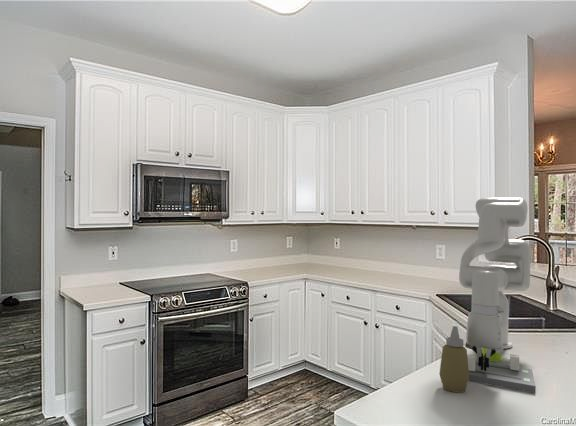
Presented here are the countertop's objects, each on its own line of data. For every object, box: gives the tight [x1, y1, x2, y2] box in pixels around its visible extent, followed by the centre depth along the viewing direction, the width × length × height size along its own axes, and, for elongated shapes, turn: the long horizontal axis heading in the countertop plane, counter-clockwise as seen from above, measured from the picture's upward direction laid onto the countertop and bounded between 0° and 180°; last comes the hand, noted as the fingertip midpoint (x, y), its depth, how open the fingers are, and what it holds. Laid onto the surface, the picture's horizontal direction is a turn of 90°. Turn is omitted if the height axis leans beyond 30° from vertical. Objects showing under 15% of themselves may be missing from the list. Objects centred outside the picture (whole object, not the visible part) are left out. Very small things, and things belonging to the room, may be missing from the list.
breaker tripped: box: [467, 353, 477, 371], centre depth 131 cm, size 3×2×4 cm
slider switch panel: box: [468, 359, 537, 394], centre depth 132 cm, size 16×22×2 cm
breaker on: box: [509, 353, 520, 371], centre depth 133 cm, size 3×2×4 cm
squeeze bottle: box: [439, 325, 470, 393], centre depth 122 cm, size 8×8×18 cm
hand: (483, 369), depth 130 cm, fingers closed
